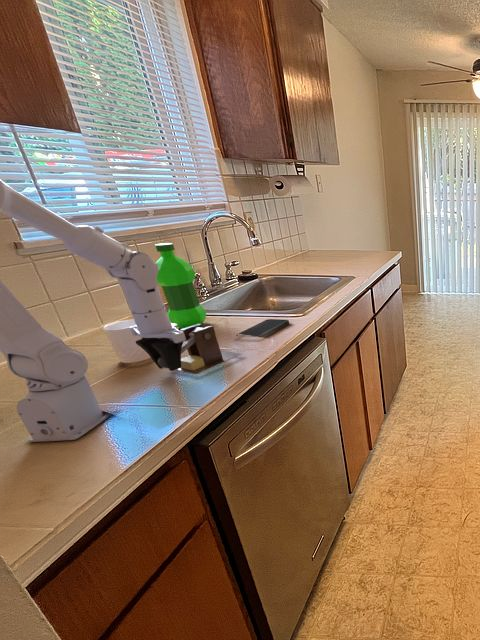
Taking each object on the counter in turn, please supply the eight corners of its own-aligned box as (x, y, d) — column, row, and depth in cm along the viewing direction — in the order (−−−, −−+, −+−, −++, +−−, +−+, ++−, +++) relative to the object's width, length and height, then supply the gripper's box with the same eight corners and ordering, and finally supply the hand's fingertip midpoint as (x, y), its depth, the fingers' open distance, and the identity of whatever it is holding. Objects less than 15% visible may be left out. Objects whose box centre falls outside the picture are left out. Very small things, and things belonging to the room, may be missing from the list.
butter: (193, 370, 92) (190, 362, 91) (180, 367, 93) (177, 360, 93) (206, 365, 95) (203, 357, 94) (193, 362, 96) (191, 354, 95)
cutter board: (198, 378, 91) (184, 338, 87) (171, 372, 94) (157, 334, 90) (243, 358, 101) (233, 321, 97) (218, 353, 104) (207, 318, 100)
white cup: (137, 369, 96) (121, 330, 92) (111, 367, 97) (94, 328, 93) (166, 356, 103) (153, 319, 99) (141, 354, 104) (127, 318, 100)
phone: (290, 319, 125) (258, 336, 112) (291, 323, 125) (259, 340, 112) (267, 319, 126) (233, 335, 113) (268, 322, 127) (234, 339, 113)
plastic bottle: (207, 319, 131) (183, 240, 121) (212, 327, 124) (186, 244, 113) (170, 325, 125) (141, 243, 115) (173, 334, 118) (142, 248, 108)
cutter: (170, 372, 88) (160, 361, 86) (160, 369, 89) (150, 359, 87) (212, 337, 96) (204, 326, 93) (203, 335, 97) (194, 325, 95)
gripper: (190, 307, 85) (209, 365, 90) (146, 301, 89) (167, 356, 95) (155, 317, 79) (178, 378, 84) (110, 310, 83) (134, 368, 89)
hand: (170, 367), depth 89 cm, fingers closed on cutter, 3 cm apart
